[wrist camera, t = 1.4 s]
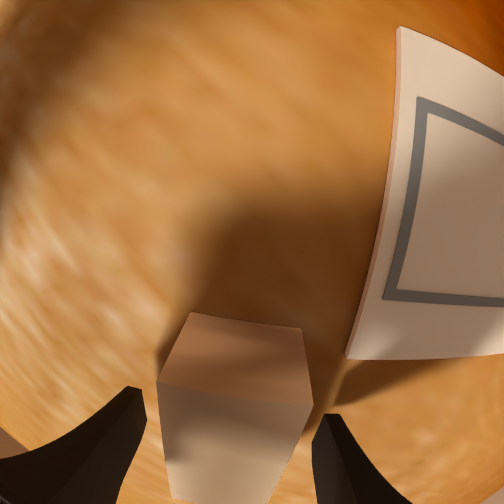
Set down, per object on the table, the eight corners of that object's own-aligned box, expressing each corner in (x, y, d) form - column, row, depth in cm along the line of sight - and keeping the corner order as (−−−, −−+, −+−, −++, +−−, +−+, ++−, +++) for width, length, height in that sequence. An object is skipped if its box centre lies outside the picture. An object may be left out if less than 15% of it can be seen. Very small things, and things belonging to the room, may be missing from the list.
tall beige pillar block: (301, 325, 10) (313, 405, 7) (264, 448, 13) (262, 511, 9) (191, 309, 10) (156, 381, 7) (188, 436, 13) (172, 497, 9)
